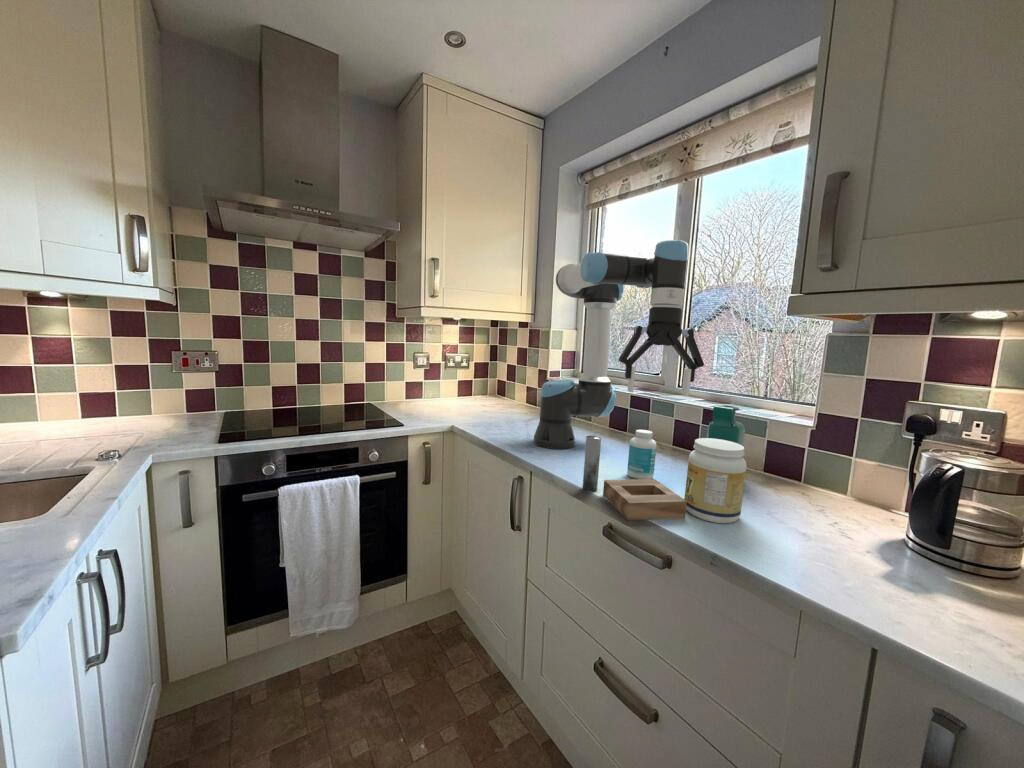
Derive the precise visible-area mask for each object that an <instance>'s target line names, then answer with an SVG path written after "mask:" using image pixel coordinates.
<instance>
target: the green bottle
mask: <svg viewBox="0 0 1024 768" xmlns="http://www.w3.org/2000/svg"><path fill="white" fill-rule="evenodd" d="M739 410H740V408H739V407H737V406H735V405H713V410H712V411H713V412H712V421H711V422H709V424H708V426H707V434H706V438H713V439H721V440H726V441H731V442H734V443H737V444H740V445H742V446H743V447H744V442H745V434H746V428H745V425H744V424H743V423H741V422H738V421H736V412H737V411H739Z"/></svg>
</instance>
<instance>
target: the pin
mask: <svg viewBox="0 0 1024 768" xmlns="http://www.w3.org/2000/svg"><path fill="white" fill-rule="evenodd" d="M601 447H602V437H600V436H599V435H598V436H597V435H586V437H585V450H584V463H583V473H582V474H583V476H582V488H581V489H582V490H583V491H584V492H588V493H596V492H598V482H599V472H600V459H601V457H600V456H601Z"/></svg>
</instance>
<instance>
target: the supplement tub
mask: <svg viewBox="0 0 1024 768" xmlns="http://www.w3.org/2000/svg"><path fill="white" fill-rule="evenodd" d="M693 449H694V450H692V451H691V452H690V453H689V454H688V464H687V471H686V480H685V482H686V483H685V489H684V498H683V499H684V500H686V501H687V506H686V512H688V513H689V514H691V515H692V516H694V517H696V518H699V519H700V520H703V521H707V522H710V523H717V524H732V523H735V522H736V521H738V520H739V519H740V517H741V515H742V514H741V513H742V506H743V496H744V488H745V480H746V475H747V474H746V473H747V469H748V467H747V462H746V460H745V459H744V458H743V457H744V456H745V447H744V445H743V446H742V445H740V444H737V443H734V442H731V441H726V440H721V439H713V438H707V437H700V438H696V439H694V445H693Z"/></svg>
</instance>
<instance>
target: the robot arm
mask: <svg viewBox="0 0 1024 768" xmlns="http://www.w3.org/2000/svg"><path fill="white" fill-rule="evenodd" d="M654 248H655V249H654V252H653V255H652V256H643V255H642V256H639V255H628V254H627V255H626V254H615V253H614V254H613V253H603V252H601V251H599V252H597V251H596V252H587V253H585V254H584V255H583V257H582V260H581V262H579V263H575V264H574V263H569V264H566V265H563V266H562V267H561V268H560V269H558V271H557V273H556V275H555V285H556V286H557V289H558V290H559V291H560V293H562V294H563V295H565V296H568V297H570V298H574V299H581V300H582V299H583V306H584V307H585V308H586V310H587V311H586V313H587V314H586V326H585V341H584V342H585V343H584V358H583V372H582V373H583V374H582V376H580V377H579V378H578V384H575V381H574V380H572V379H554V380H549V381H546V382H544V383H543V384H542V385H541V391H540V392H541V393H540V408H539V409H540V410H539V420H538V421H539V422H538V425H537V427H536V430H535V432H534V435H533V443H534V444H535V445H536V446H539V447H541V448H546V449H554V450H555V449H556V450H565V449H572V448H574V447H575V444H576V438H575V434H574V429H573V425H572V421H573V419H572V417H595V418H598V417H608V416H609V415H610V414H611V412H613V410H614V407H615V405H616V401H617V393H616V388H615V387H614V386H613V385H612V381H611V380H610V378H609V377H608V367H609V366H608V365H609V356H610V355H609V354H610V340H611V337H610V336H611V327H612V326H611V325H612V310H613V309H614V308H615V307H616V306H617V302H618V301H620V300H621V299H622V298H623V293H624V292H625V286H634V287H637V288H639V289H650V288H651V290H650V291H651V292H650V293H651V294H650V302H649V304H650V306H652V307H650V308H649V313H648V322H647V323H648V325H647V326H642V325H635V327H634V330H633V335H632V336H631V338H630V340H629V341H628V343H627V344H626V346H625V348H624V349H623V351H622V352H621V354H620V356H619V357H618V361H619V363H621V364H624V366H625V371H624V376H625V378H626V379H628V381H627V382H628V383H627V391H628V392H629V393H634V390H635V389H634V386H635V377H636V375H635V374H636V366H635V365H634V364H635V363H636V362H637V360H639V358H641V357H642V356H643V354H644V353H646V352H647V350H649V349H650V348H651V347H652V346H653V345H654V346H669V347H671V346H672V348H673V349H674V350H675V351H676V353H677V354H678V356H679V357H680V358H681V360H682V361H683V363H684V364H685V365H686V367H687V368H683V376H682V377H683V378H682V386H681V394H682V395H684V396H687V397H688V396H689V395H690V387H691V383H693V382H694V380H695V374H696V370H697V369H698V368H703V367H704V365H705V364H704V360H703V358H702V355H701V353H700V350H699V348H698V344H697V342H696V339H695V330H694V328H691V327H690V328H688V327H687V328H684V329H682V327H681V325H682V316H683V309H682V308H681V307H683V306H684V295H685V286H686V279H687V278H686V277H687V270H688V261H689V257H688V256H689V255H688V254H689V244H688V243H687V242H686V241H684V240H680V239H677V240H676V239H667V240H662V241H659V242H657V243H656V245H655V247H654ZM644 333H645V334H646V335H647V336H648V338H646V339H645V341H644V342H643V343H642V344H641V345H640V346H639V347H638V348H637V350H636V351H635V352H633V354H631V353H632V351H633V350H634V348H635V346H636V345H637V343H638V341H639V339H640V337H642V335H644ZM680 336H683V338H684V339H685V342H686V345H687V347H688V349H689V352H690V355H689V354H688V352H687V351H686V349H685V348H684V346H683V345H682V343H681V342H680V340H679V339H678V338H680ZM630 354H631V356H630ZM690 356H691V357H692V358H691V357H690Z"/></svg>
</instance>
